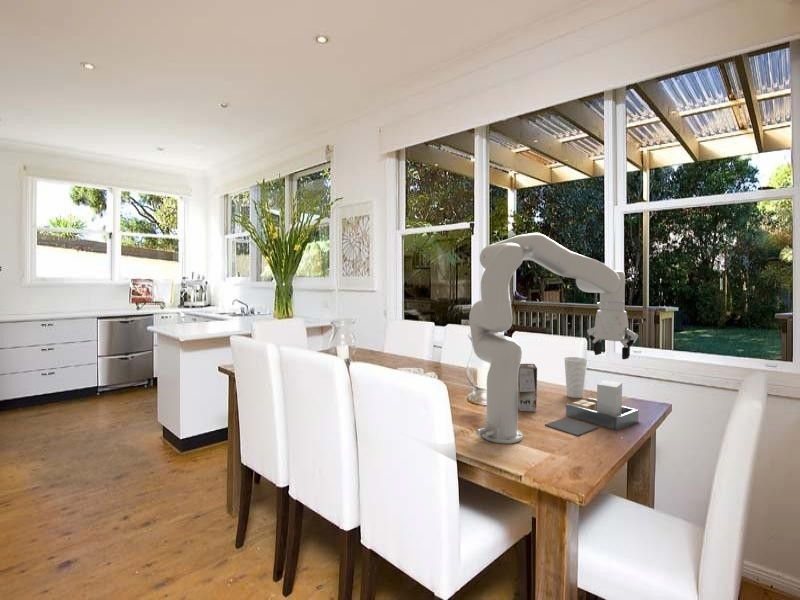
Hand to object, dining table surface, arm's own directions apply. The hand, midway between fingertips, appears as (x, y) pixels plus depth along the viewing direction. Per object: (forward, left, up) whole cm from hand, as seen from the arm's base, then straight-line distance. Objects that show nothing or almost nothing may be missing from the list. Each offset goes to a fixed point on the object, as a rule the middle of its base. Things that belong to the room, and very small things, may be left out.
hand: (611, 356), depth 151 cm
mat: (-16, +4, -22) cm, 28 cm away
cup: (+17, +24, -22) cm, 37 cm away
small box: (0, 0, -23) cm, 23 cm away
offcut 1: (0, +11, -22) cm, 25 cm away
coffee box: (-11, +26, -22) cm, 36 cm away
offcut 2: (0, +8, -22) cm, 24 cm away
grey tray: (0, +3, -22) cm, 22 cm away
